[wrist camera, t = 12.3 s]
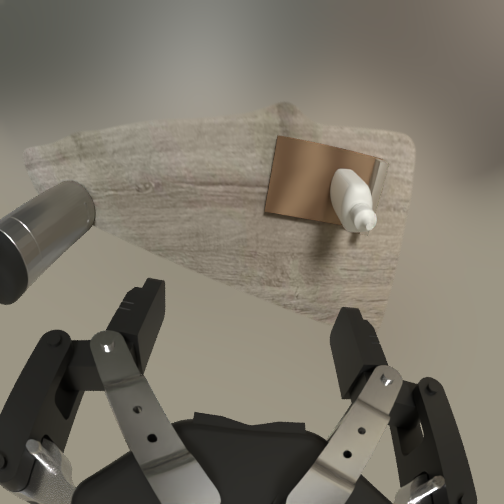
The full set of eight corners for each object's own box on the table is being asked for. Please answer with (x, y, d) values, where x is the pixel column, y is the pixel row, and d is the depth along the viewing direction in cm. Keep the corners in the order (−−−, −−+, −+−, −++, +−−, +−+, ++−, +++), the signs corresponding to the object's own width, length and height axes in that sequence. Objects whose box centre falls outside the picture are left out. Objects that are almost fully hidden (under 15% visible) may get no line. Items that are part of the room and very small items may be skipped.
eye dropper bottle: (317, 198, 38) (334, 239, 28) (340, 162, 36) (369, 190, 25) (344, 214, 39) (369, 259, 28) (367, 180, 36) (402, 214, 26)
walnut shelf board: (264, 208, 40) (264, 217, 38) (277, 135, 35) (278, 138, 33) (363, 226, 41) (368, 236, 38) (382, 159, 36) (390, 164, 33)
